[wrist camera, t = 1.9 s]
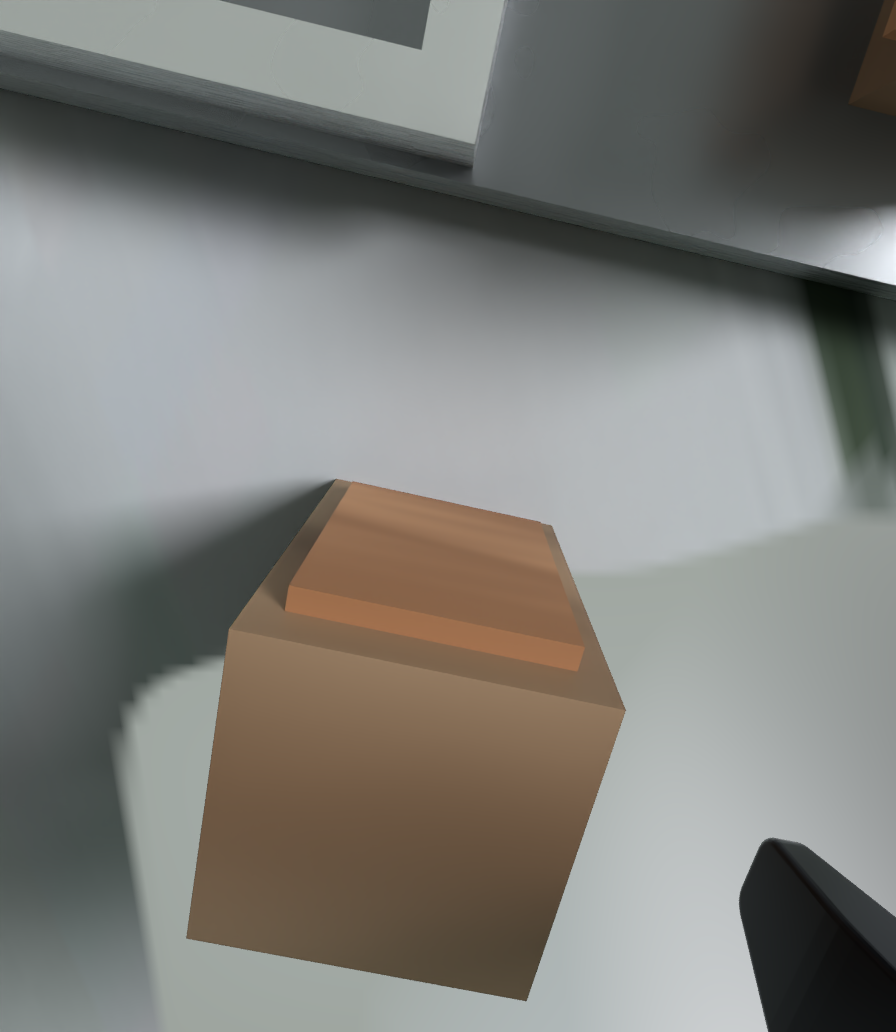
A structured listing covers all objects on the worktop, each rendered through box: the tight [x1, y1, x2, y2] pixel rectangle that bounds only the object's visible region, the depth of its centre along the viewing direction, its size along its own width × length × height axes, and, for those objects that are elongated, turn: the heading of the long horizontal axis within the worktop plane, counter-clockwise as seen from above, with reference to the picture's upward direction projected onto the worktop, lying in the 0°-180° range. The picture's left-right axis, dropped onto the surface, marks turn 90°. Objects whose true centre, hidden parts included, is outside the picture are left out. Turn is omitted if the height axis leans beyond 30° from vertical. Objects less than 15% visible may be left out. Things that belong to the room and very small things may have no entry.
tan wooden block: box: [186, 479, 626, 1001], centre depth 10 cm, size 4×4×6 cm
